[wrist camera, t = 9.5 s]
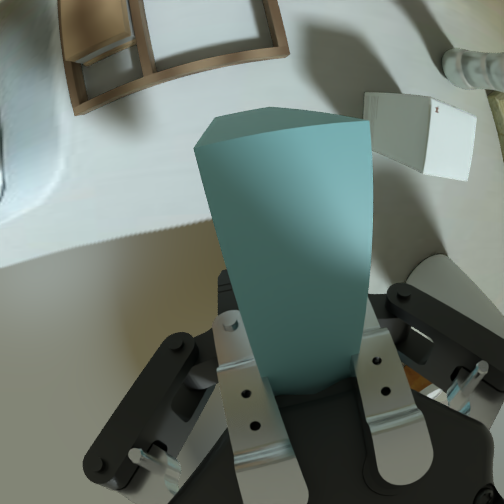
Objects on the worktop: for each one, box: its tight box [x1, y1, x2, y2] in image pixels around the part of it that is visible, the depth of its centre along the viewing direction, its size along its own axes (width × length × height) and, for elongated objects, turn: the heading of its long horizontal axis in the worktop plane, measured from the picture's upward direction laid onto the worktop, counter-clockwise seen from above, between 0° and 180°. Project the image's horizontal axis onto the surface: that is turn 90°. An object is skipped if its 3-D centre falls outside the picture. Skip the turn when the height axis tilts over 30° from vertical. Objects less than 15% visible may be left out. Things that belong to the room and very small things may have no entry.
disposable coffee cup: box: [403, 365, 442, 399], centre depth 55 cm, size 10×10×12 cm
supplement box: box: [363, 92, 477, 181], centre depth 23 cm, size 7×7×13 cm
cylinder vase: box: [406, 254, 504, 342], centre depth 33 cm, size 12×12×25 cm
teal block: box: [194, 107, 373, 396], centre depth 11 cm, size 2×14×9 cm, turn 11°
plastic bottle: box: [442, 48, 504, 93], centre depth 15 cm, size 6×7×20 cm
